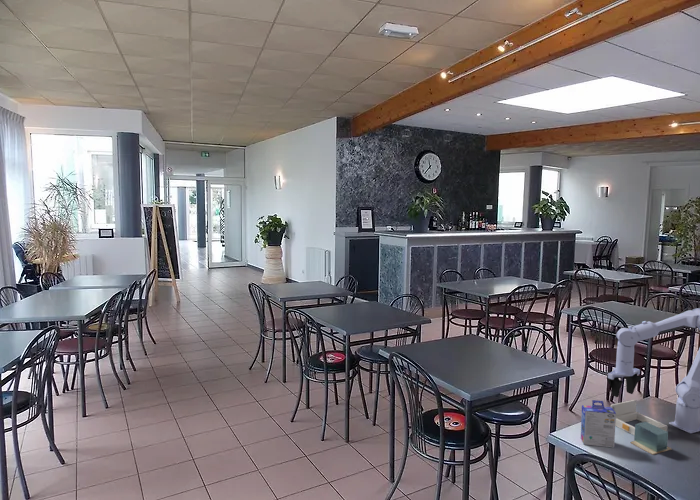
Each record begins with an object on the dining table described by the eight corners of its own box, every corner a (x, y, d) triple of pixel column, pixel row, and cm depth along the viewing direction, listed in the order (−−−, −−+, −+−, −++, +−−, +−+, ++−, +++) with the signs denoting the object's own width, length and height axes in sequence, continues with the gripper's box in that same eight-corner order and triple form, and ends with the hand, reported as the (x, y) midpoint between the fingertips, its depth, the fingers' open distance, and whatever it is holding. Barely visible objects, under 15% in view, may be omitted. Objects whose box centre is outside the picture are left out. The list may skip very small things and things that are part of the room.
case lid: (633, 416, 181) (635, 399, 180) (638, 418, 179) (639, 401, 178) (609, 422, 176) (610, 404, 175) (613, 424, 174) (614, 406, 174)
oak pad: (648, 438, 165) (648, 437, 165) (671, 449, 157) (671, 448, 157) (630, 442, 161) (630, 441, 161) (652, 454, 154) (652, 453, 154)
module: (644, 437, 164) (645, 421, 163) (666, 449, 157) (668, 432, 156) (634, 440, 162) (635, 423, 162) (656, 452, 155) (657, 434, 154)
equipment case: (636, 417, 180) (636, 411, 180) (666, 432, 169) (667, 425, 168) (610, 423, 175) (611, 417, 175) (640, 439, 164) (641, 432, 164)
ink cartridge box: (609, 440, 163) (612, 400, 162) (615, 448, 158) (618, 407, 156) (579, 437, 165) (581, 397, 164) (583, 445, 160) (586, 404, 158)
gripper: (628, 354, 183) (626, 387, 185) (601, 359, 178) (599, 393, 180) (646, 360, 177) (643, 394, 178) (618, 365, 172) (615, 400, 173)
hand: (622, 394), depth 179 cm, fingers open, 7 cm apart
